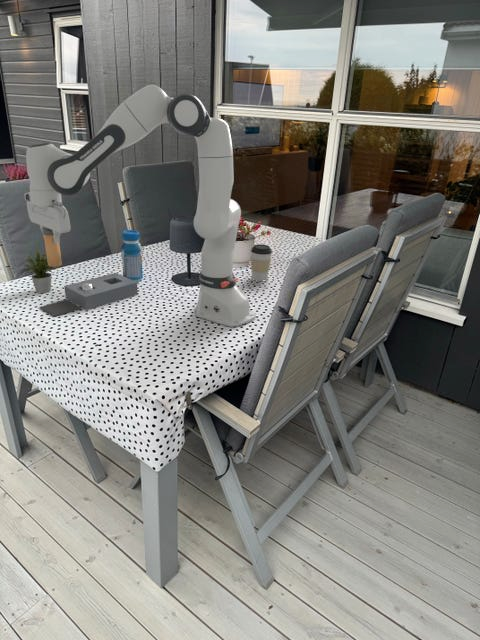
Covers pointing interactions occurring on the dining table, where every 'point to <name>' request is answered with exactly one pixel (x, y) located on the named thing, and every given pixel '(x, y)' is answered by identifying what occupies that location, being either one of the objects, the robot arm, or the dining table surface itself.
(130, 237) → the beverage bottle
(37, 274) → the house plant
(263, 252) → the coffee cup
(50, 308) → the mat
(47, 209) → the robot arm
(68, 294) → the housing
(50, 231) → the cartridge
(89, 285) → the plunger
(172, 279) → the dining table surface
